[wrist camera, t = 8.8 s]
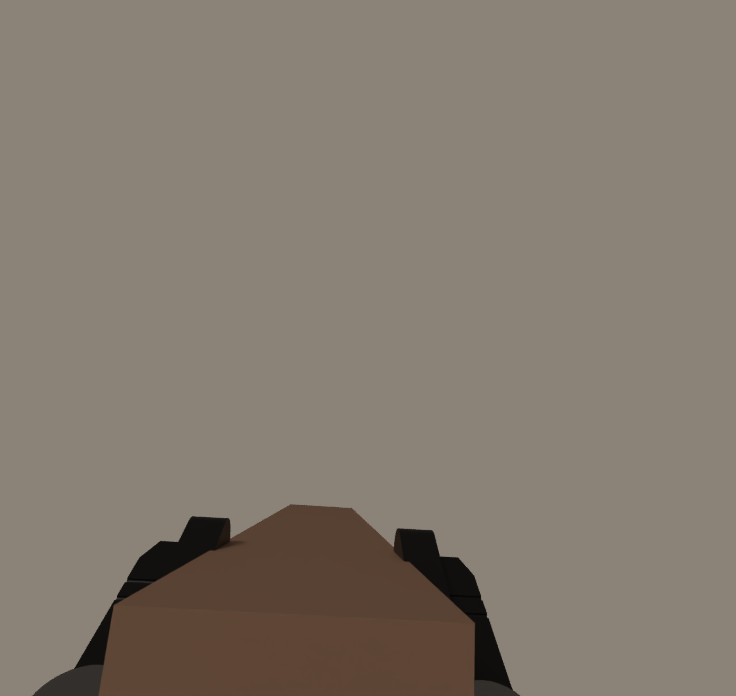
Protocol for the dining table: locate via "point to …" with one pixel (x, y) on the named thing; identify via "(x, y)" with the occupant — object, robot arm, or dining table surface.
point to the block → (292, 619)
